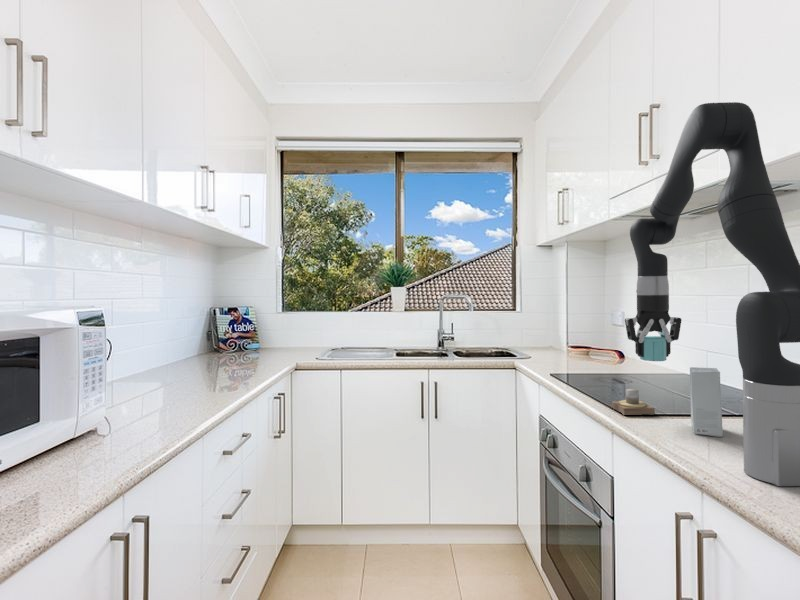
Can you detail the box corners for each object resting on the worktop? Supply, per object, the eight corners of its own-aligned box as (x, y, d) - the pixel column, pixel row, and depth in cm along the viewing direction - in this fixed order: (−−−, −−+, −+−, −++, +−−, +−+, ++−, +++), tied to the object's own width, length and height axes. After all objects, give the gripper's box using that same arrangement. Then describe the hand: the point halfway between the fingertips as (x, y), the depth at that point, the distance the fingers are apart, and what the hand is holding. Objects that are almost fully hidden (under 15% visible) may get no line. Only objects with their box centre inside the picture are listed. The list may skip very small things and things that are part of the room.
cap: (670, 361, 120) (670, 338, 120) (646, 361, 121) (646, 338, 121) (658, 357, 126) (658, 335, 126) (636, 357, 127) (636, 336, 127)
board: (654, 415, 124) (654, 393, 124) (624, 415, 124) (623, 393, 124) (640, 408, 132) (640, 387, 132) (611, 408, 132) (611, 387, 132)
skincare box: (723, 437, 105) (722, 372, 105) (691, 434, 108) (691, 370, 108) (719, 428, 112) (718, 366, 112) (689, 425, 115) (689, 365, 115)
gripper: (631, 294, 120) (631, 359, 120) (688, 293, 119) (688, 358, 119) (618, 293, 127) (619, 354, 128) (672, 292, 126) (673, 354, 127)
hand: (653, 356), depth 124 cm, fingers closed on cap, 5 cm apart
